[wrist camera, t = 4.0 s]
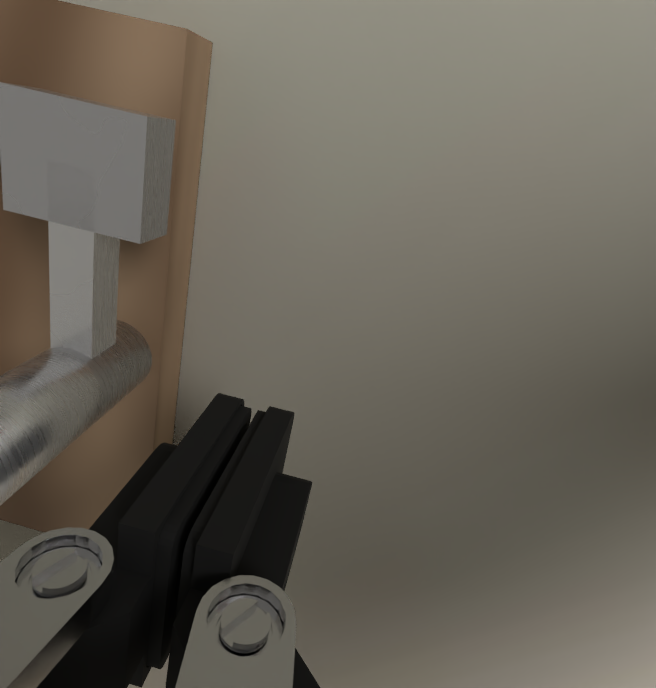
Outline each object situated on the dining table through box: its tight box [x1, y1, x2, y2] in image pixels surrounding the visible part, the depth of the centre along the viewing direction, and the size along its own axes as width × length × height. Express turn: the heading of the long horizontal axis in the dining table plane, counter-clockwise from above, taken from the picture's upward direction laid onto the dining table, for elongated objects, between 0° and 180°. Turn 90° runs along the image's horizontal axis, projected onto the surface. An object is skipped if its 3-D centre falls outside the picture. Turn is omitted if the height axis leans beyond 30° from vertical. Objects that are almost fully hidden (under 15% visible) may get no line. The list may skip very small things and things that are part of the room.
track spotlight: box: [0, 82, 176, 506], centre depth 9 cm, size 3×8×7 cm, turn 168°
